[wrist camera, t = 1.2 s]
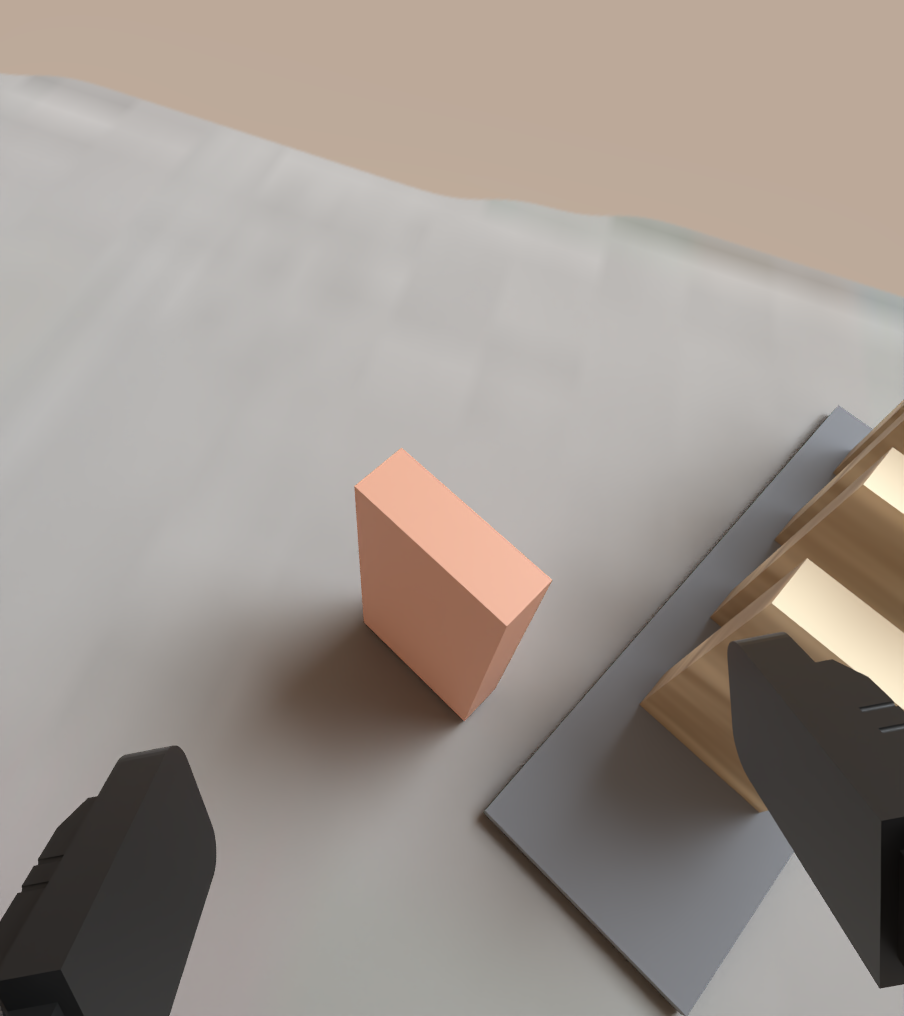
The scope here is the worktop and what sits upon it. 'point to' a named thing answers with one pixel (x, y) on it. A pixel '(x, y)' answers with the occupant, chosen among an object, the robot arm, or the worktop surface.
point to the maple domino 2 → (783, 608)
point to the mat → (664, 774)
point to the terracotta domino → (441, 582)
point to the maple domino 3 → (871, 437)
